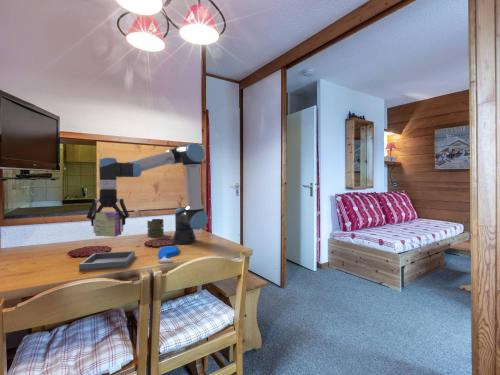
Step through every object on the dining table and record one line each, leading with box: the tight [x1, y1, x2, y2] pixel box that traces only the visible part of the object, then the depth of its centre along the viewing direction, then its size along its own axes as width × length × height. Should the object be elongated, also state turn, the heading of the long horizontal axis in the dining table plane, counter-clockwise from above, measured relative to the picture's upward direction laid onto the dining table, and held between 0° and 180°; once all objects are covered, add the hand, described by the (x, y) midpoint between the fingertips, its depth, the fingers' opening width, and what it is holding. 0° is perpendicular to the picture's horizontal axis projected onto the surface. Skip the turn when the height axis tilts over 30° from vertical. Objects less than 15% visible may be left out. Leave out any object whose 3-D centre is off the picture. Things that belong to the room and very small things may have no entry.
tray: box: [78, 250, 136, 272], centre depth 127 cm, size 20×18×3 cm
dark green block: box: [146, 218, 165, 239], centre depth 190 cm, size 11×12×11 cm
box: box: [94, 210, 122, 238], centre depth 127 cm, size 10×6×12 cm, turn 84°
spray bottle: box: [157, 245, 179, 264], centre depth 139 cm, size 3×11×24 cm
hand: (108, 232), depth 127 cm, fingers closed on box, 11 cm apart
